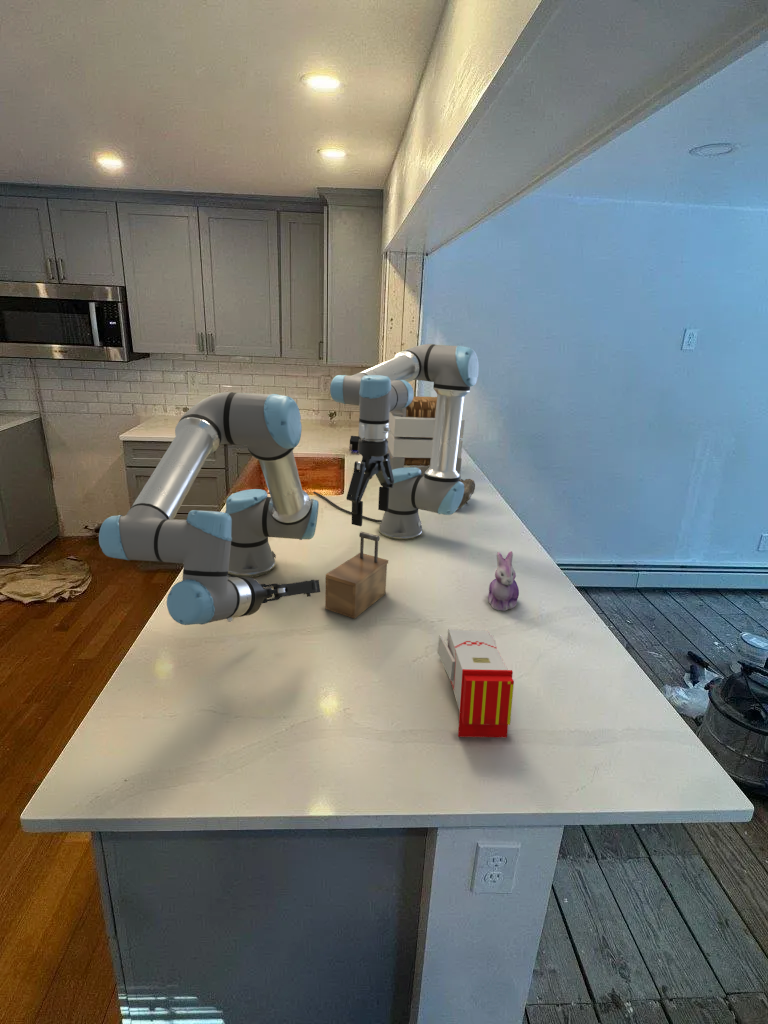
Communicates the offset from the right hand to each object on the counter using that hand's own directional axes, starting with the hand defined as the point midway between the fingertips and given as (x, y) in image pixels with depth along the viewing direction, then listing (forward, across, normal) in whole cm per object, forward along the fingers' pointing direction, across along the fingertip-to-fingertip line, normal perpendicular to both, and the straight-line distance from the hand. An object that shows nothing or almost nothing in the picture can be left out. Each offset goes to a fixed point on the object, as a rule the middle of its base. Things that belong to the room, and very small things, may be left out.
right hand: (370, 517), depth 150 cm
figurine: (+22, +15, -34) cm, 43 cm away
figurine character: (+22, +135, +90) cm, 164 cm away
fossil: (+22, +87, +9) cm, 91 cm away
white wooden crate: (+22, +119, +42) cm, 128 cm away
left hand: (+8, -32, +1) cm, 33 cm away
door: (+13, -5, 0) cm, 14 cm away
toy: (+22, -25, -40) cm, 53 cm away
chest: (+22, -6, 0) cm, 23 cm away
